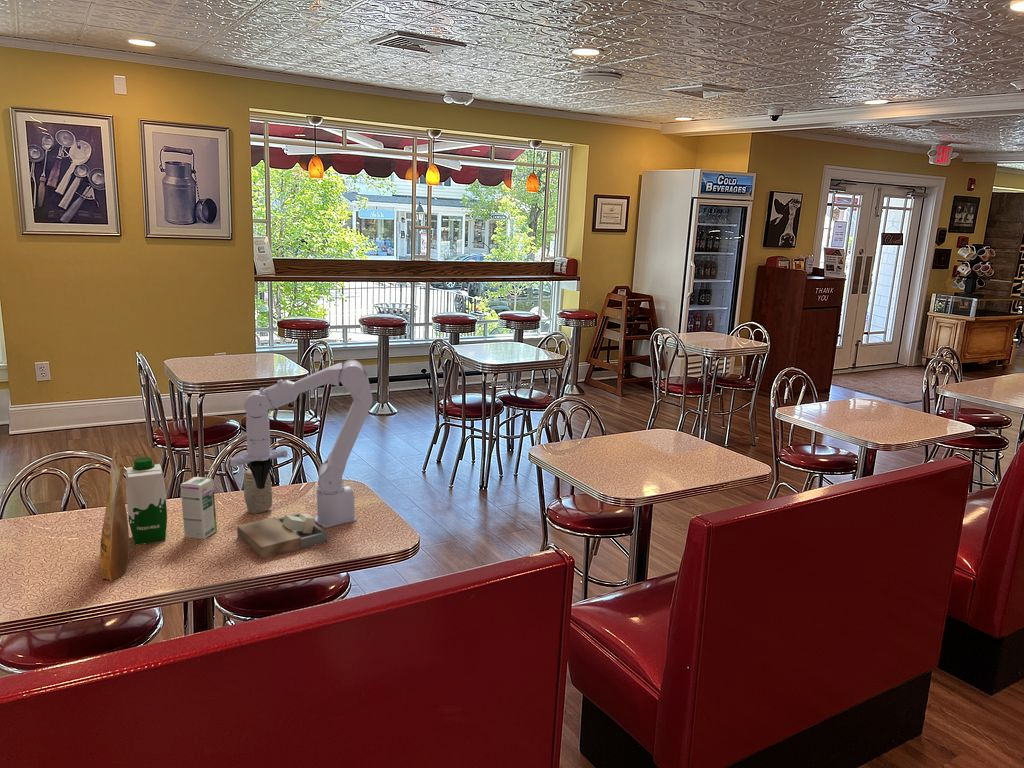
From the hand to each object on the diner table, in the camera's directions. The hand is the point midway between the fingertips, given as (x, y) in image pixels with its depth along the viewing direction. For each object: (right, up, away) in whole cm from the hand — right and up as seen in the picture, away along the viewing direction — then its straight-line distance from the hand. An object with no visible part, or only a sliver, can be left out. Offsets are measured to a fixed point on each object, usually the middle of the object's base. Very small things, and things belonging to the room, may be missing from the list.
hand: (260, 487), depth 203 cm
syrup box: (-14, -12, -5) cm, 19 cm away
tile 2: (+12, -9, -4) cm, 15 cm away
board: (+5, -13, -9) cm, 16 cm away
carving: (-4, -8, +12) cm, 15 cm away
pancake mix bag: (-25, -15, -24) cm, 38 cm away
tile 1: (+10, -10, -5) cm, 15 cm away
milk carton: (-26, -12, -8) cm, 29 cm away
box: (+12, -12, -3) cm, 17 cm away
